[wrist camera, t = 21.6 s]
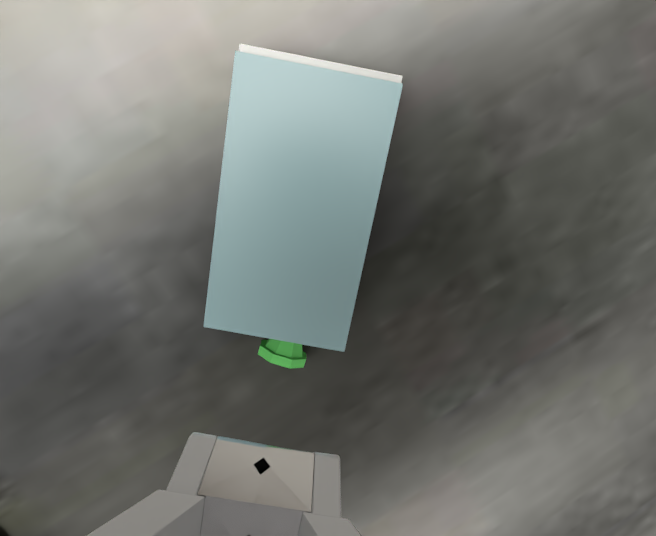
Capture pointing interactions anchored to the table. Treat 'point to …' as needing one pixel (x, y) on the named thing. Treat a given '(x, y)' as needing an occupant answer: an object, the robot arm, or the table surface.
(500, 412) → the table surface
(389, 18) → the table surface
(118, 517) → the robot arm
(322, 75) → the light blue flat panel
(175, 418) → the table surface
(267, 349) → the game piece
